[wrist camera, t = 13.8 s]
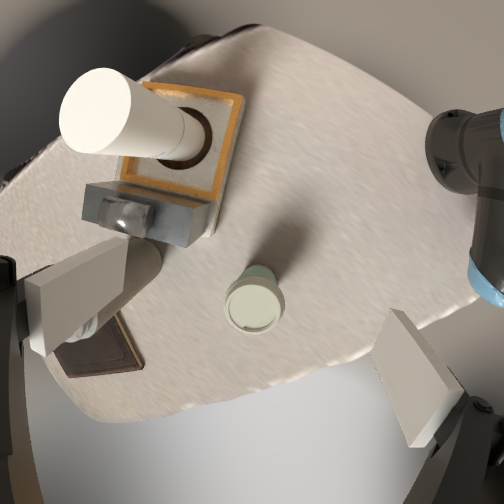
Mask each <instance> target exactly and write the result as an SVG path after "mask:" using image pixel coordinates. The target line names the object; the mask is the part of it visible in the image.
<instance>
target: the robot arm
mask: <svg viewBox="0 0 504 504" xmlns="http://www.w3.org/2000/svg"><path fill="white" fill-rule="evenodd" d="M425 150H426V157H427V161H428V164H429V167H430V169H431V171H432V173H433V175H434V176H435V178H436V179H437V181H438V182H439V183H440V184H441V185H442V186H443V187H445V188H446V189H448V190H449V191H452V192H454V193H459V194H474V193H477V192H478V197H477V208H476V217H475V226H474V233H473V240H472V247H471V248H470V250H469V258H470V259H469V266H468V279H469V283H470V285H471V286H472V288H473V289H474V290H475V291H476V293H478V294H479V295H480V296H481V297H482V298H484V299H485V300H487V301H488V302H490V303H492V304H493V305H496V306H498V307H500V308H503V307H504V108H501V109H497V110H493V111H489V112H484V113H480V114H474V113H471V112H468V111H465V110H458V109H456V110H450V111H447V112H443V113H441V114H440V115H438V116H437V117H436V118H435V119H434V120H433V121H432V123H431V124H430V126H429V128H428V131H427V135H426V141H425ZM486 197H487V198H486ZM491 198H492V199H491ZM128 241H129V240H126V239H122V238H119V237H113V238H111V239H109V240H106V241H104V242H102V243H100V244H97V245H95V246H93V247H91V248H89V249H86V250H84V251H82V252H80V253H78V254H76V255H73V256H71V257H69V258H67V259H65V260H63V261H61V262H59V263H57V264H53V265H48V266H46V267H44V268H42V269H39V271H38V270H37V271H35V272H33V274H32V273H31V274H29V275H27V276H25V277H23V278H21V279H19V280H17V279H16V261H15V260H14V259H13V258H11V257H8V256H2V255H0V504H44V501H43V497H42V494H41V490H40V486H39V482H38V477H37V473H36V468H35V463H34V458H33V453H32V447H31V440H30V434H29V426H28V419H27V408H26V397H25V380H24V346H23V340H24V338H26V337H28V336H29V339H30V346H31V349H32V350H34V351H35V352H37V353H39V354H41V355H43V356H44V357H47V356H48V355H49V354H50V353H51V352H53V351H54V350H55V349H56V348H57V347H58V346H59V345H60V344H62V343H63V342H64V341H65V340H66V339H67V338H68V337H70V336H71V335H72V334H73V333H74V332H75V331H77V330H78V329H79V328H80V327H81V326H82V325H84V324H85V323H86V322H87V321H88V320H89V319H91V318H92V317H93V316H94V315H95V314H96V313H98V312H99V311H100V310H101V309H102V308H104V307H105V306H106V305H107V304H108V303H110V302H111V301H112V300H113V299H114V298H116V297H117V296H118V295H119V294H121V293H122V292H123V285H124V275H125V266H126V257H127V249H128ZM370 356H371V359H372V361H373V363H374V365H375V368H376V370H377V372H378V374H379V377H380V379H381V381H382V383H383V386H384V388H385V390H386V393H387V395H388V397H389V400H390V402H391V405H392V407H393V409H394V412H395V414H396V417H397V419H398V421H399V424H400V426H401V429H402V431H403V433H404V436H405V439H406V441H407V444H408V447H425V446H426V445H427V443H428V442H429V441H430V439H431V438H432V437H433V436H434V437H435V439H436V441H437V443H436V444H435V445H434V447H433V448H432V449H431V450H430V451H429V453H428V454H427V455H426V456H425V457H424V459H423V460H422V461H421V463H424V462H425V463H424V465H423V468H422V469H421V471H420V473H419V475H418V477H417V479H416V481H415V483H414V485H413V487H412V489H411V490H410V492H409V494H408V495H407V497H406V499H405V501H404V503H403V504H504V460H503V461H502V462H501V464H500V465H499V461H500V460H501V458H502V457H503V456H504V414H503V416H500V415H496V414H494V409H493V408H492V406H491V405H490V404H489V403H488V402H487V401H485V400H484V399H482V398H479V397H476V396H472V397H470V396H469V395H468V393H467V392H466V391H465V389H464V388H463V387H462V385H461V384H460V382H458V380H457V378H456V377H455V376H454V374H453V373H452V371H451V370H450V369H449V368H448V367H447V366H446V365H445V364H444V362H443V361H442V360H441V358H440V357H439V356H438V354H437V353H436V352H435V351H434V349H433V348H432V347H431V345H430V344H429V343H428V342H427V340H426V339H425V338H424V337H423V335H422V334H421V333H420V331H419V330H418V329H417V328H416V326H415V325H414V324H413V323H412V322H411V320H410V319H409V318H408V317H407V315H406V314H405V313H404V312H403V311H400V310H396V309H391V308H390V311H389V313H388V315H387V318H386V320H385V323H384V325H383V327H382V329H381V332H380V334H379V336H378V338H377V341H376V343H375V345H374V347H373V349H372V351H371V354H370Z"/></svg>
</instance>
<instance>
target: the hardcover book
mask: <svg viewBox="0 0 504 504" xmlns="http://www.w3.org/2000/svg"><path fill="white" fill-rule="evenodd" d="M53 352H54V354H55V356H56V357H57V359H58V361H59V363H60V365H61V366H62V368H63V370H64V372H65V373H66V375H67V377H68V378H77V377H87V376H97V375H106V374H114V373H122V372H130V371H137V370H142V369H143V368H144V366H143V365H142V363H141V362H140V360H139V358H138V356H137V354H136V352H135V350H134V348H133V346H132V344H131V342H130V340H129V338H128V336H127V334H126V332H125V330H124V328H123V326H122V324H121V322H120V320H119V318H118V315H117V313H116V314H115V315H113V316H112V317H111V318H110V319H109V320H108V321H107V322H106V323H105V324H104V325H103V326H102V327H101V328H100V329H99V330H97V331H96V332H95V333H94V334H93V335H92V336H91V337H89V338H86V339H80V340H78V341H76V342H71V343H69V342H64V343H62V344H61V345H60V346H59V347H58V348H56V349H55V350H54V351H53Z"/></svg>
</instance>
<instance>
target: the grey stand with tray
mask: <svg viewBox="0 0 504 504" xmlns="http://www.w3.org/2000/svg"><path fill="white" fill-rule="evenodd" d="M138 84H139V83H138ZM140 85H141V86H143V87H145V88H147V89H148V90H150V91H152V92H153V93H155V94H157V95H158V96H160V97H162V98H163V99H165V100H166V101H168V102H170V103H171V104H173V105H174V106H176V107H178V108H179V109H181V110H182V111H184V112H185V113H187V114H189V115H190V116H192V117H193V118H195V119H196V120H198V121H199V122H200V123H201V125H202V126H203V129H204V132H205V141H204V145H203V147H202V149H201V151H200V152H199V153H198V154H197V155H196V156H195V157H193V158H191V159H189V160H186V161H175V160H165V159H156V158H145V157H134V156H121V155H119V159H118V164H117V169H116V174H115V180H114V181H111V182H101V183H91V184H86V189H85V196H84V203H83V211H82V220H85V221H89V222H92V223H96V224H99V226H101V227H104V228H108V229H111V230H115V231H118V232H122V233H126V234H129V235H133V236H136V237H140V238H145V237H147V238H150V239H154V240H158V241H161V242H165V243H169V244H172V245H176V246H180V247H183V248H187V247H188V246H190V245H191V244H192V243H193V242H194V241H196V240H197V239H198V238H199V237H200V236H205V237H209V238H210V237H211V236H212V235H213V234H214V233H215V228H216V224H217V219H218V215H219V211H220V206H221V202H222V198H223V193H224V189H225V185H226V181H227V177H228V173H229V169H230V164H231V160H232V156H233V152H234V148H235V144H236V141H237V137H238V133H239V129H240V125H241V121H242V117H243V114H244V110H245V106H246V102H245V99H244V97H243V95H240V94H235V93H229V92H224V91H218V90H212V89H205V88H199V87H192V86H184V85H176V84H167V83H157V82H146V81H143V82H142V84H140Z"/></svg>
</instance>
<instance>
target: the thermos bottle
mask: <svg viewBox="0 0 504 504" xmlns="http://www.w3.org/2000/svg"><path fill="white" fill-rule="evenodd" d="M161 264H162V261H161V255H160V253H159V251H158V249H157V248H156V246H155V245H154V244H153V243H151V242H150V241H148V240H146V239H142V238H137V239H133V240H131V241H129V242H128V249H127V257H126V266H125V275H124V285H123V292H122V293H121V294H119V295H118V296H117V297H116V298H114V299H113V300H112V301H111V302H110V303H108V304H107V305H106V306H105V307H104V308H102V309H101V310H100V311H99V312H98V313H96V314H95V315H94V316H93V317H92V318H91V319H89V320H88V321H87V322H86V323H85V324H84V325H82V326H81V327H80V328H79V329H78V330H77V331H75V332H74V333H73V334H72V335H71V336H70V337H68V338H67V339H66V340H65V341H64V342H69V343H71V342H76V341H78V340H80V339H86V338H89V337H91V336H92V335H93V334H94V333H95V332H96V331H97V330H99V329H100V328H101V327H102V326H103V325H104V324H105V323H106V322H107V321H108V320H109V319H110V318H111V317H112V316H113V315H115V314H116V313H117V312H118V311H119V310H120V309H121V308H122V307H123V306H124V305H125V304H126V303H128V302H129V301H130V300H131V299H132V298H133V297H134V296H135V295H136V294H137V293H139V292H140V291H141V290H142V289H143V288H144V287H145V286H146V285H147V284H148V283H150V282H151V281H152V280H153V279H154V278H155V277H156V276H157V275H158V274H159V272H160V269H161ZM64 342H63V343H64ZM60 345H61V344H60ZM60 345H59V346H60ZM59 346H58V347H59ZM58 347H57V348H58Z"/></svg>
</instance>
